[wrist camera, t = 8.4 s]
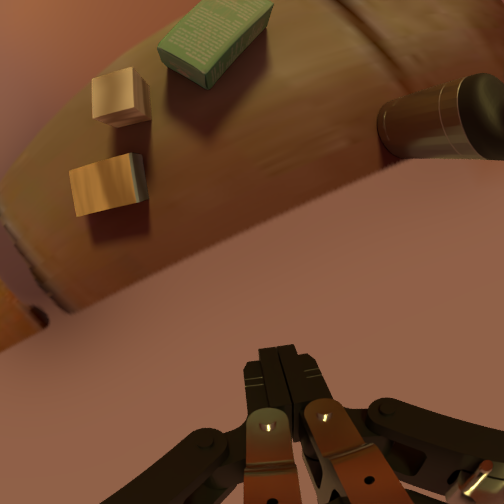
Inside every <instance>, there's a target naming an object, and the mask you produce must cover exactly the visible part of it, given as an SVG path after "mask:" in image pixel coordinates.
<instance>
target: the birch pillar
mask: <svg viewBox="0 0 504 504" xmlns="http://www.w3.org/2000/svg"><path fill="white" fill-rule="evenodd" d="M92 114H93V119H95V120H98V121H101V122H103V123H106V124H108V125H111V126H113V127H116V128H119V127H123V126H127V125H131V124H136V123H140V122H145V121H149V120H152V117H151V103H150V87H149V85H148V84H147V83H146V82H145V81H144V79H143V78H142V77H141V76H140V75H139V74H138V73H137V72H136V70H135V69H134V68H133V67H130V68H126V69H123V70H119V71H116V72H112V73H109V74H106V75H102V76H99V77H96V78H93V79H92Z"/></svg>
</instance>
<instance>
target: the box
mask: <svg viewBox="0 0 504 504" xmlns="http://www.w3.org/2000/svg"><path fill="white" fill-rule="evenodd" d="M273 5H274V3H272V2H271V1H269V0H202V1H201V2H199V4H197V5H196V6H195V7H194V8H193V9H192V10H191V11H190V12H189V13H188V14H187V15H185V16H184V17H183V18H182V19H181V20H180V21H179V22H178V23H177V24H176V25H175V27H174V28H173V29H172V30H171V31H170V32H169V33H168V34H167V35H166V36H165V37H164V38H163V39H162V40H161V42H160V43H159V44H158V47H157V50H158V53H159V55H160V58H161V61H162V62H163V63H164V64H165V65H166V66H167V67H168V68H170V69H172V70H174V71H176V72H178V73H179V74H181V75H183V76H185V77H186V78H188V79H190V80H192V81H193V82H195V83H197V84H198V85H200V86H201V87H203V88H205V89H208V90H209V89H210V88H211V87H212V86H213V85H214V84H215V83H216V81H217V80H218V79H219V78H220V77H221V76H222V74H223V73H224V72H225V71H226V70H227V69H228V67H229V66H230V65H231V64H232V63H233V62H234V61H235V60H236V58H237V57H238V56H239V55H240V54H241V53H242V52H243V51H244V50H245V49H246V48H247V47H248V46H249V45H250V43H251V42H252V41H253V40H254V39H255V38H256V37H257V36H258V35H259V34H260V33H261V32H262V31H263V30H264V29H265V28H266V27H267V24H268V21H269V17H270V14H271V11H272V8H273Z"/></svg>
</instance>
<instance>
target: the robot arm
mask: <svg viewBox="0 0 504 504" xmlns="http://www.w3.org/2000/svg"><path fill="white" fill-rule="evenodd" d="M377 128H378V132H379V136H380V138H381V141H382V142H383V144H384V146H385V147H386V148H387V149H388V151H390V152H391V153H392V154H393V155H395V156H397V157H400V158H420V159H422V158H440V159H441V158H443V159H481V160H504V84H503V83H502V82H501V81H500V80H499V79H498V78H496V77H495V76H493V75H491V74H487V73H480V74H475V75H471V76H468V77H464V78H460V79H457V80H453V81H450V82H447V83H444V84H440V85H437V86H434V87H431V88H427V89H424V90H421V91H418V92H415V93H412V94H409V95H406V96H403V97H400V98H398V99H395V100H392V101H390V102H387V103H386V104H385V105H384V106H383V107H382V108H381V110H380V112H379V114H378V119H377ZM258 351H259V361H251V362H247V364H246V366H245V368H244V370H243V371H244V381H245V390H246V399H247V409H248V416H247V419H246V421H245V422H244V423H243V424H242V425H241V426H240V427H238V428H236V429H234V430H232V431H229V432H226V433H222V432H221V431H219V430H216V429H212V428H201V429H198V430H196V431H193V432H192V433H190V434H189V435H188V436H187V437H186V438H185V439H183V440H182V441H181V442H180V443H178V444H177V445H176V446H175V447H174V448H173V449H171V450H170V451H169V452H168V453H167V454H165V455H164V456H163V457H162V458H160V459H159V460H158V461H157V462H155V463H154V464H153V465H152V466H150V467H149V468H148V469H147V470H145V471H144V472H143V473H141V474H140V475H139V476H137V477H136V478H135V479H134V480H132V481H131V482H129V483H128V484H127V485H125V486H124V487H123V488H121V489H120V490H119V491H117V492H116V493H114V494H113V495H111V496H110V497H109V498H107V499H106V500H104V501H103V502H101V503H100V504H220V503H221V502H222V501H223V500H224V499H225V498H226V497H227V496H228V495H229V494H230V493H231V492H232V491H233V490H234V489H235V487H236V486H237V484H239V483H242V482H244V504H302V500H301V493H300V486H299V479H298V472H297V467H296V464H295V462H294V456H293V449H292V438H293V442H299V441H300V442H301V445H302V457H303V460H304V463H305V466H306V468H307V471H308V473H309V476H310V479H311V481H312V484H313V486H314V489H315V491H316V495H317V501H318V504H504V431H501V430H497V429H492V428H488V427H484V426H481V425H477V424H473V423H469V422H466V421H462V420H459V419H455V418H452V417H448V416H445V415H441V414H438V413H435V412H432V411H429V410H426V409H423V408H420V407H417V406H414V405H411V404H408V403H405V402H402V401H399V400H397V399H393V398H380V399H378V400H376V401H374V402H372V403H371V405H370V406H369V408H368V409H349V408H345V407H343V406H342V405H341V404H340V403H339V402H338V401H336V400H334V399H333V397H332V395H331V393H330V391H329V389H328V387H327V384H326V382H325V380H324V378H323V376H322V373H321V371H320V369H319V367H318V365H317V363H316V361H315V359H314V358H312V357H311V356H310V355H308V354H301V355H298V354H297V351H296V349H295V346H294V345H293V344H291V345H284V346H277V347H271V348H263V349H259V350H258ZM399 480H400V481H403V482H406V483H408V484H411V485H413V486H416V487H419V488H422V489H425V490H428V491H431V492H434V493H437V494H440V495H444V496H445V497H446V501H447V503H445V502H442V501H439V500H437V499H434V498H431V497H428V496H426V495H423V494H420V493H418V492H415V491H412V490H408V489H404V487H403V486H402V484H401V483H400V481H399Z"/></svg>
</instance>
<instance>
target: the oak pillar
mask: <svg viewBox="0 0 504 504" xmlns="http://www.w3.org/2000/svg"><path fill="white" fill-rule="evenodd" d="M69 175H70V182H71V188H72V194H73V200H74V205H75V211H76V216H77V217H79V216H83V215H87V214H90V213H95V212H99V211H103V210H107V209H111V208H115V207H120V206H124V205H129V204H133V203H138V202H141V201H144V200H147V199H149V196H148V190H147V184H146V178H145V171H144V165H143V158H142V155H141V154H136V153H128V154H124V155H120V156H117V157H113V158H109V159H106V160H102V161H99V162H96V163H92V164H89V165H86V166H83V167H79V168H76V169H73V170H70V171H69Z"/></svg>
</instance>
